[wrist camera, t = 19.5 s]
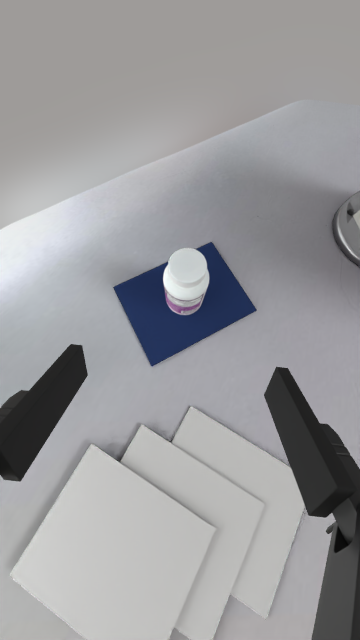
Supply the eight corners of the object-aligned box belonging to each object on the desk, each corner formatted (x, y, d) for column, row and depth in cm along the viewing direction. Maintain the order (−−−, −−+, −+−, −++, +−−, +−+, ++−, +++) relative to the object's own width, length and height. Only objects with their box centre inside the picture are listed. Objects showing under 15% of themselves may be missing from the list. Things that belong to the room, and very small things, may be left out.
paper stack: (136, 372, 27) (135, 372, 26) (312, 481, 24) (316, 484, 23) (14, 569, 21) (8, 576, 21) (224, 743, 18) (226, 757, 18)
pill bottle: (174, 276, 30) (174, 233, 21) (207, 289, 30) (221, 251, 21) (159, 308, 29) (152, 276, 20) (194, 322, 29) (202, 296, 19)
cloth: (211, 243, 33) (211, 241, 32) (255, 310, 30) (256, 309, 29) (113, 287, 30) (113, 287, 30) (152, 366, 27) (151, 366, 27)
